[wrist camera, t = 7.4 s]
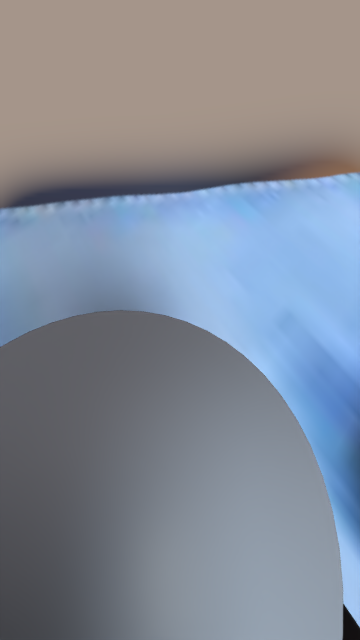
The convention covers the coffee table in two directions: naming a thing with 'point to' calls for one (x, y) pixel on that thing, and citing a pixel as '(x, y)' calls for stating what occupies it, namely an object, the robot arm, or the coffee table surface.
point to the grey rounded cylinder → (156, 491)
